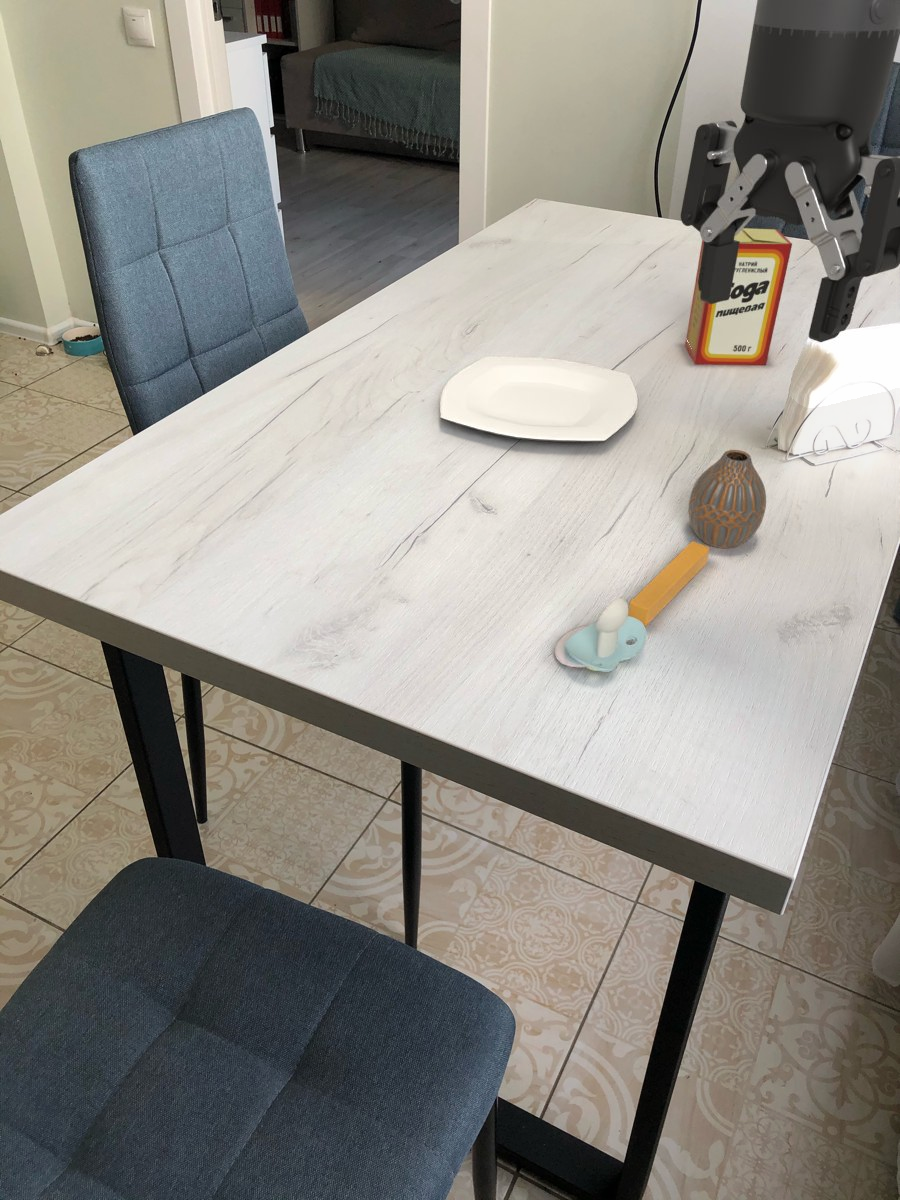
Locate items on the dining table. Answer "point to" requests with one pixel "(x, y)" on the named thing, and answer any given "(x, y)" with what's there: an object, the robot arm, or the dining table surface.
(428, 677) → the dining table surface
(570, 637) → the pacifier
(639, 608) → the wooden stick
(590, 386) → the plate
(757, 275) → the baking soda box
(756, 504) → the vase
